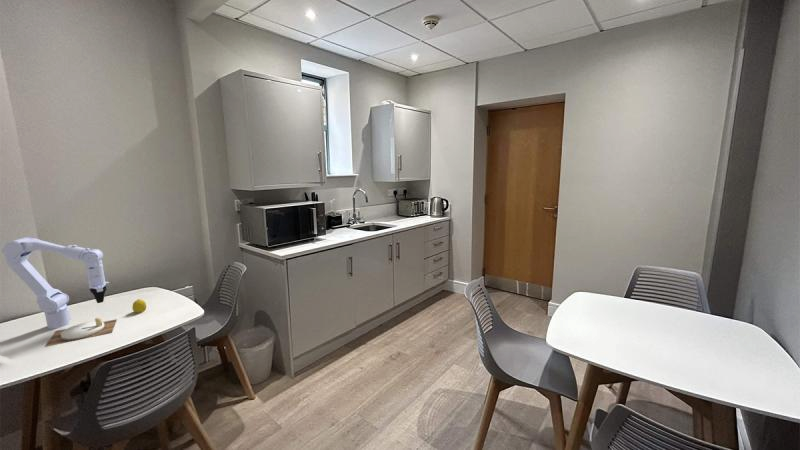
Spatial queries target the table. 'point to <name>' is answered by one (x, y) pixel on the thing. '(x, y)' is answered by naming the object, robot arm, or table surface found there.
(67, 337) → the dial
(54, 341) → the brown flat wooden board
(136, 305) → the lemon
